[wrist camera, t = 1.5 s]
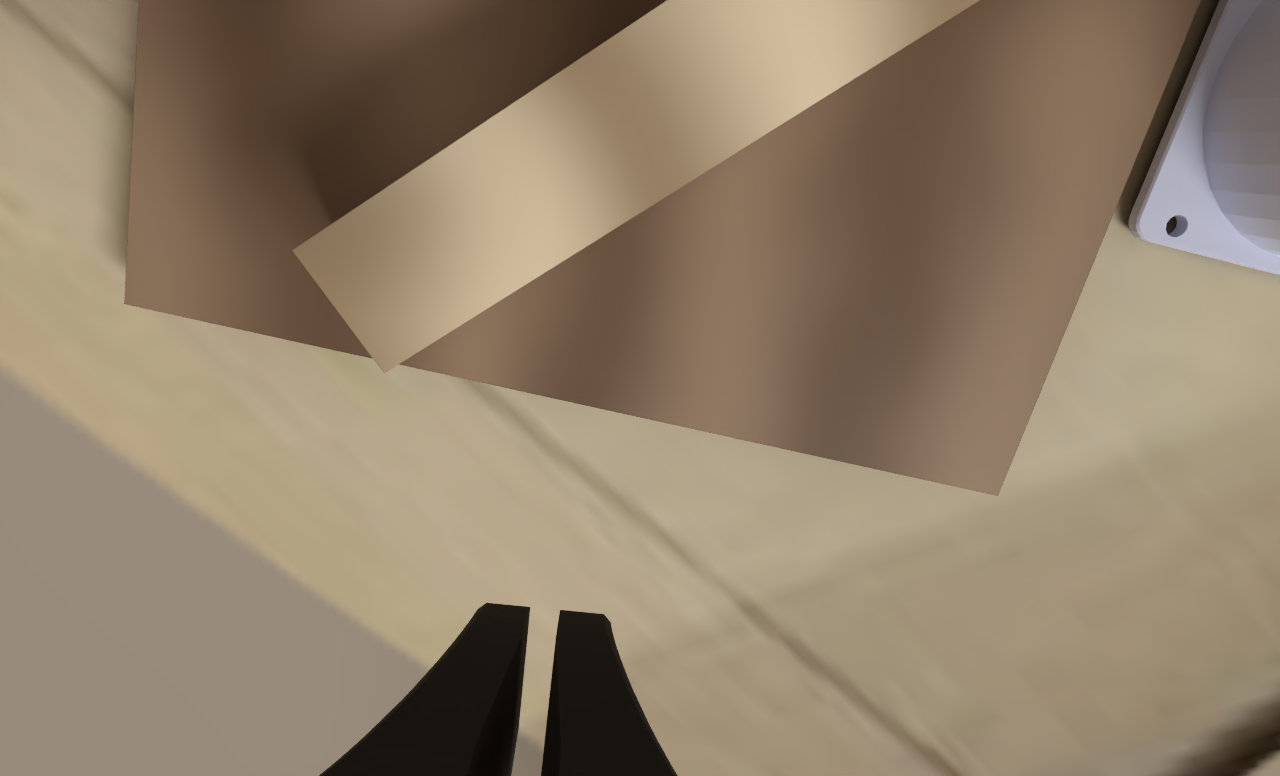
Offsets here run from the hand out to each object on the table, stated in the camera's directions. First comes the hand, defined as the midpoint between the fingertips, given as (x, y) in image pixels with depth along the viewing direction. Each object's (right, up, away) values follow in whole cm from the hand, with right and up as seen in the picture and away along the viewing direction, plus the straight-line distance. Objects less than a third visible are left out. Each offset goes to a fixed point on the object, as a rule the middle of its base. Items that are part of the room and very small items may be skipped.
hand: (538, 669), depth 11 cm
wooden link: (+3, +11, +6) cm, 12 cm away
